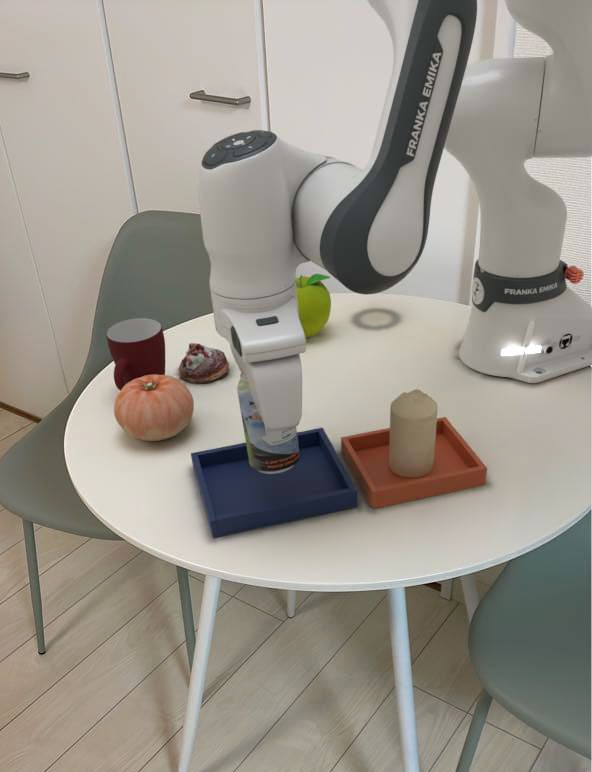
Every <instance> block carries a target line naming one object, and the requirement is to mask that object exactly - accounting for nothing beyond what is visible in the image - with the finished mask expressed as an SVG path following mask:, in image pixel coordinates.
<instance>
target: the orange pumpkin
mask: <svg viewBox="0 0 592 772" xmlns="http://www.w3.org/2000/svg"><path fill="white" fill-rule="evenodd" d="M194 407H195V404H194V397H193V394H192V392H191V391H190V389H189V388H188V387H187V386H186V384H184V383H183V382H182V381H181V380H179V379H177V378H175V377H174V376H170V375H168V374H167V375H166V374H165V375H156V374H155V375H146V376H143V377H140V378H136V379H134V380H132V381H130V382H129V383H127V384H126V385H125V386H124V387H123V388H122V390H121V391H120V390H119V392H118V393H117V395H116V397H115V400H114V406H113V411H114V413H113V414H114V418H115V420H116V422H117V424H118V426H119V427H121V428H120V429H122V430H123V431H124V432H125V433H126V434H128V435H129V436H131V437H132V438H135V439H137V440H141V441H147V442H148V441H149V442H157V441H158V442H159V441H163V440H168V439H171V438H172V437H174V436H176V435H178V434H179V433H181V432H182V431H183V430H185V428H186V427H187V426H188V424H189V423H190V422H191V419H192V418H193V414H194V410H195V409H194Z"/></svg>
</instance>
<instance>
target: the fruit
mask: <svg viewBox="0 0 592 772" xmlns="http://www.w3.org/2000/svg"><path fill="white" fill-rule="evenodd" d="M330 278H331V276H328V275H325V274H320V273H314V274H312V275H311V276H310V277H309V276H305V275H302V274H300V276H299V277H296V291H297V300H298V310H299V317H300V321H301V324H302V327H303V330H304V334H305V338H306V339H307V338H311V337H314V336H316V335H318V334H319V333H320V332H321V331H322V330H323V329H324V328H325V326H326V325H327V323H328V322H329V319H330V315H331V310H332V297H331V294H330V291H329V290H328V288H327V287H326V285H325V284H324V283H323V282H322V281H325V280H327V279H330Z"/></svg>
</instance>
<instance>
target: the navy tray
mask: <svg viewBox="0 0 592 772" xmlns="http://www.w3.org/2000/svg"><path fill="white" fill-rule="evenodd" d="M297 437H298V445H299V453H300V459H299V461H298V462H297V463H296V464H294V466H293V467H292V468H290V469H289V470H287V471H284V472H281V473H275V474H266V473H262V472H260V471H258V470H256V469H254V468H252V467H251V466H250V463H249V457H248V451H247V446H246V442H241V443H236V444H232V445H225V446H220V447H216V448H211V449H204V450H199V451H196V452H191V453H190V457H191V463H192V469H193V473H194V475H195V476H194V477H195V480H196V483H197V486H198V490H199V494H200V498H201V501H202V504H203V508H204V511H205V515H206V519H207V522H208V525H209V531H210V533H211V536H212V539H215V538H219V537H224V536H228V535H232V534H237V533H243V532H247V531H252V530H257V529H263V528H266V527H270V526H276V525H281V524H285V523H290V522H294V521H298V520H304V519H308V518H313V517H318V516H322V515H327V514H332V513H337V512H340V511H341V512H342V511H346V510H350V509H355V508H358V507H359V499H358V497H359V493H358V488H357V487H356V485H355V483H354V482H353V480H352V478H351V476H350V474H349V472H348V470H347V469H346V467H345V465H344V464H343V461H342V460H341V457H340V456H339V454H338V452H337V451H336V449H335V447H334V445H333V444H332V442H331V440H330V438H329V436H328V434H327V433H326V431H325V430H324V428H323V427H319V428H313V429H308V430H303V431H297Z"/></svg>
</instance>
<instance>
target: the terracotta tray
mask: <svg viewBox="0 0 592 772" xmlns="http://www.w3.org/2000/svg"><path fill="white" fill-rule="evenodd" d="M389 446H390V427H388V428H382V429H375V430H372V431H366V432H361V433H356V434H351V435H347V436H341V437H340V454H341V455H342V457H343V459H344V461H345V463H346V464H347V466H348V468H349V470H350V471H351V473H352V475H353V477H354V479H355V480H356V482H357V484H358V486H359V487H360V489H361V491H362V493H363V494H364V496H365V498H366V500H367V502H368V504H369V505H370V507H371V509H372V510H374V509H378V508H384V507H388V506H393V505H397V504H402V503H407V502H411V501H416V500H421V499H425V498H430V497H435V496H440V495H444V494H449V493H453V492H458V491H463V490H469V489H473V488H477V487H482V486H486V483H487V482H486V481H487V474H488V467H487V466H486V464H485V463H484V462H483V461H482V460H481V458H480V457H479V455H477V454H476V452H475V451H474V450H473V449H472V447H471V446H470V445H469V444H468V442H467V441H466V440H465V438H464V437H463V436H462V435H461V434H460V432H459V431H458V430H457V429H456V428H455V426H454V425H453V424H452V423H451V422H450V420H449V419H448V418H447V416H443V417H437V424H436V438H435V452H434V464H433V468H432V470H431V472H429V473H428V474H427V475H424V476H422V477H417V478H407V477H402V476H399V475H397V474H395V473H394V472H393V471H392V470H391V469H390V465H389Z"/></svg>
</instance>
